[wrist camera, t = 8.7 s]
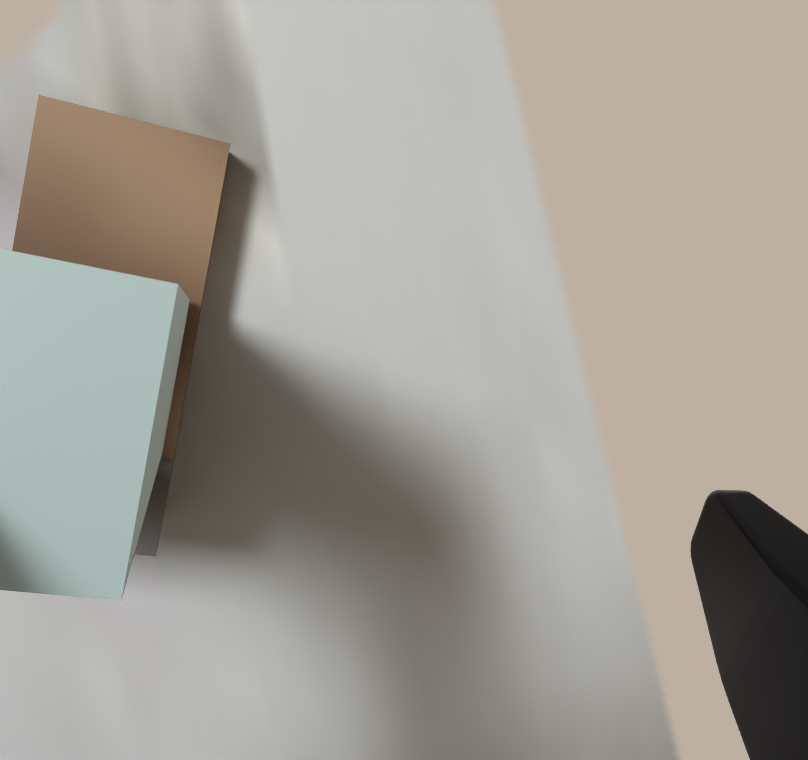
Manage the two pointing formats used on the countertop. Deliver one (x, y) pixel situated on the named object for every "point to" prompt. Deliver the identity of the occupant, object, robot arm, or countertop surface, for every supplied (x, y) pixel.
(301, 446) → the countertop surface
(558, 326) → the countertop surface
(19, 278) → the block
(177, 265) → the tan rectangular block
